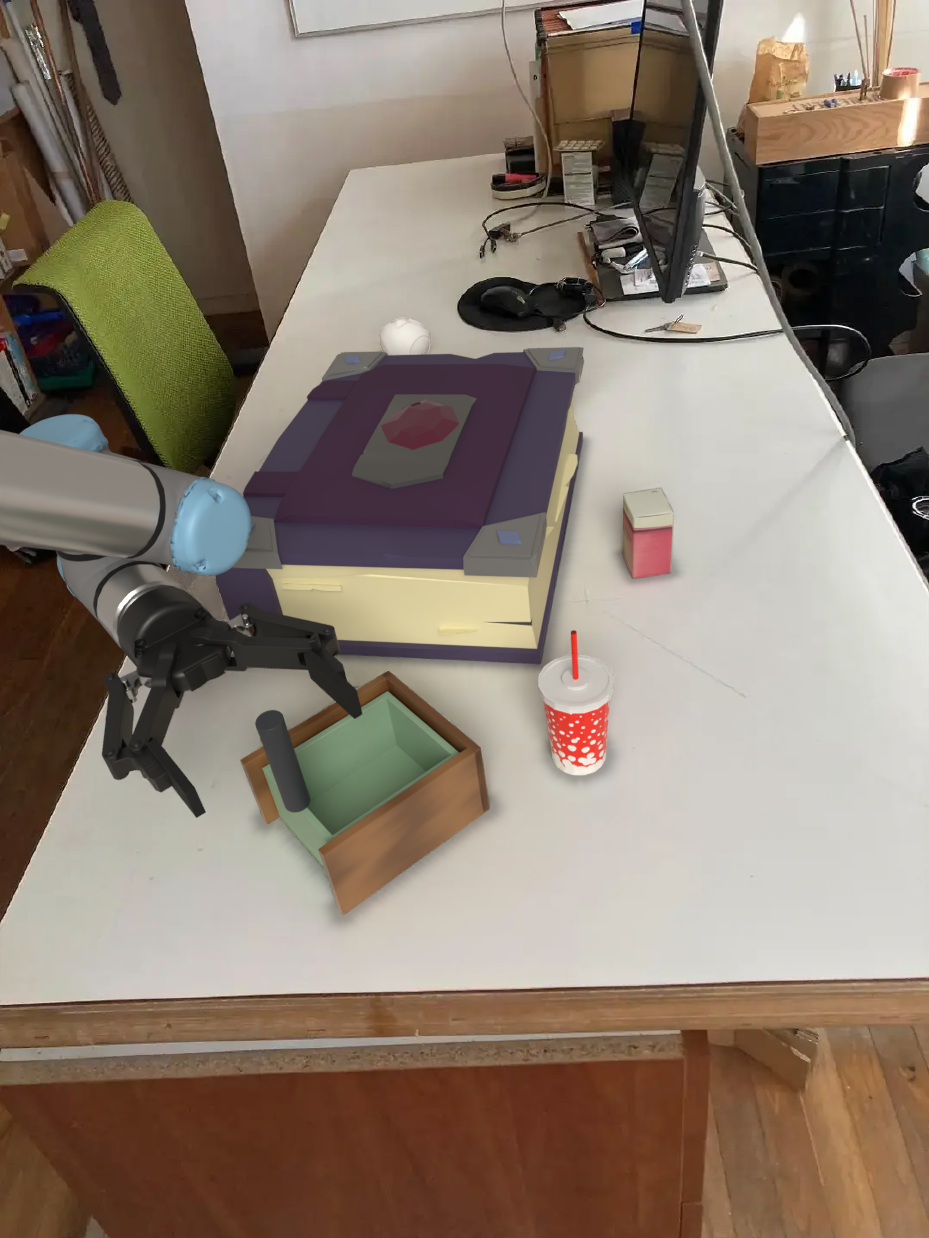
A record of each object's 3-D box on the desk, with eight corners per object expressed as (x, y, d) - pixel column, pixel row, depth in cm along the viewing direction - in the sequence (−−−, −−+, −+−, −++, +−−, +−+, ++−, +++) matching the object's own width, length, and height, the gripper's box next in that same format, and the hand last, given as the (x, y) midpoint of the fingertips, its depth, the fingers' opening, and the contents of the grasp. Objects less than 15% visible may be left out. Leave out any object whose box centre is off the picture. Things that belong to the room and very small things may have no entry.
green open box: (339, 901, 71) (293, 767, 61) (273, 824, 78) (223, 691, 68) (470, 807, 77) (448, 670, 67) (399, 742, 83) (369, 609, 74)
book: (225, 651, 96) (185, 540, 87) (347, 437, 130) (327, 341, 121) (545, 667, 89) (536, 548, 80) (587, 436, 123) (584, 334, 114)
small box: (621, 553, 102) (621, 491, 97) (659, 547, 102) (661, 485, 97) (632, 580, 98) (632, 518, 93) (672, 574, 98) (675, 511, 93)
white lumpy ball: (438, 354, 148) (432, 306, 143) (426, 375, 143) (419, 326, 138) (391, 354, 150) (383, 307, 145) (377, 375, 144) (368, 327, 140)
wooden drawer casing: (343, 915, 70) (323, 855, 66) (262, 819, 78) (239, 759, 74) (490, 809, 77) (481, 747, 72) (401, 730, 85) (388, 669, 80)
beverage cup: (608, 787, 77) (607, 663, 68) (536, 777, 79) (525, 654, 70) (619, 733, 81) (619, 610, 73) (551, 725, 83) (542, 603, 74)
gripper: (288, 592, 89) (421, 701, 76) (36, 726, 78) (138, 882, 65) (270, 527, 84) (407, 631, 71) (-1, 660, 74) (100, 813, 60)
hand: (279, 751), depth 68 cm, fingers open, 13 cm apart
